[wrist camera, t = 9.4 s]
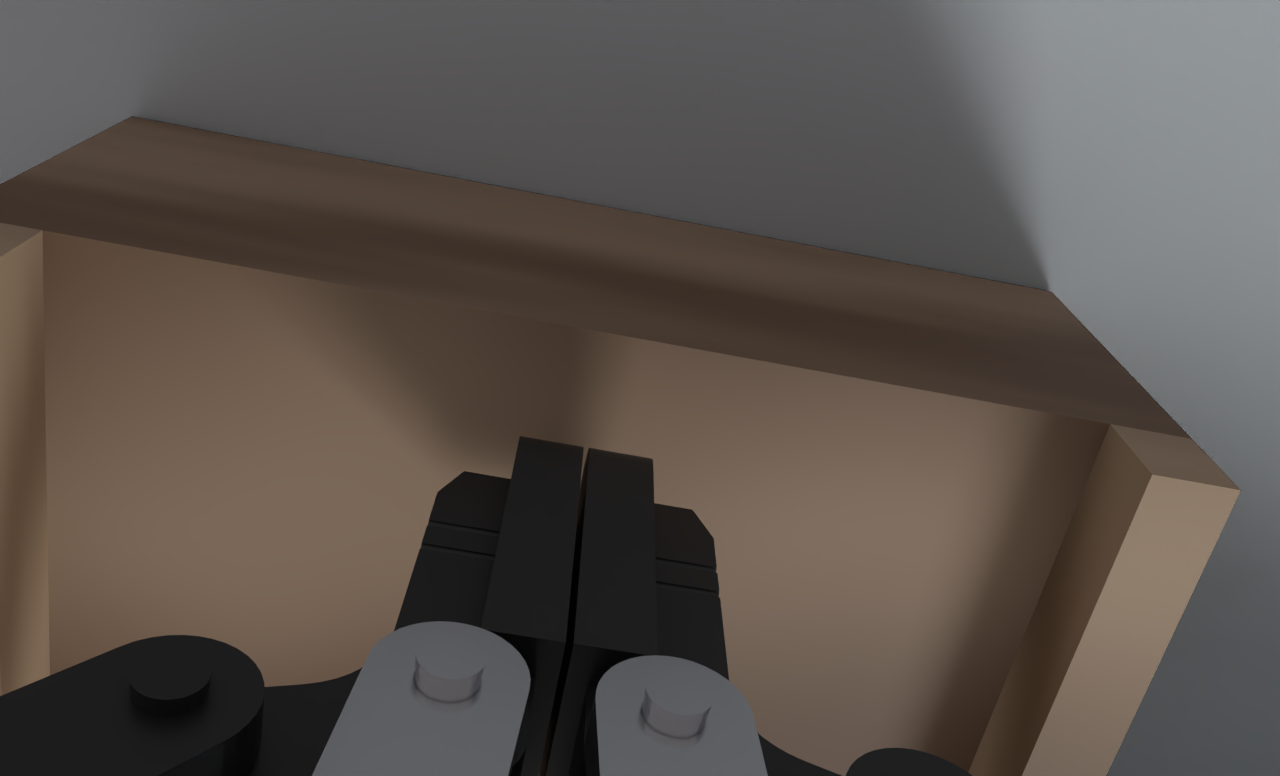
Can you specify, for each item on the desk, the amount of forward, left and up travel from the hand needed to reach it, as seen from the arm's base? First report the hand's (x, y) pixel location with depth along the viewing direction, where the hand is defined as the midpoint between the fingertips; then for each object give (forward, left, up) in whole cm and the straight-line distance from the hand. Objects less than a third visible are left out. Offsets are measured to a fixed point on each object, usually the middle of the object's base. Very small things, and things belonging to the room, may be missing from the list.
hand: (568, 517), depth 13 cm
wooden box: (+8, 0, -6) cm, 10 cm away
